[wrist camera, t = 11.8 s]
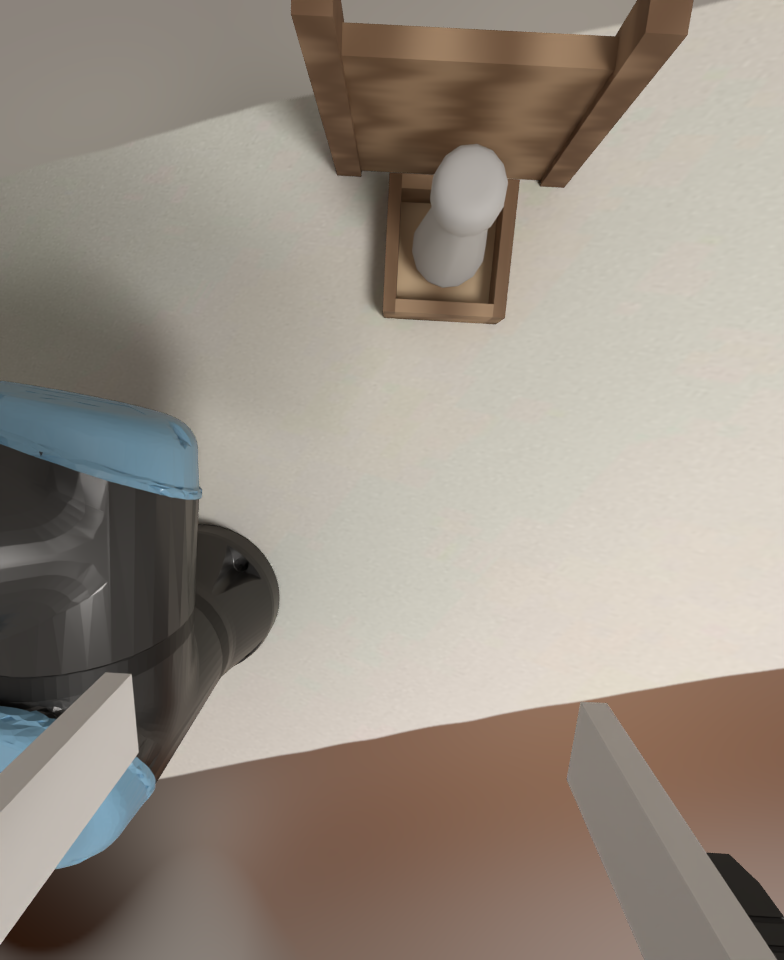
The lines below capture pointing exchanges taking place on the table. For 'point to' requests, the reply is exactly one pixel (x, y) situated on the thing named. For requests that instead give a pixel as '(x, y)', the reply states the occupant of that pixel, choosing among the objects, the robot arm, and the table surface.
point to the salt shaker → (459, 215)
